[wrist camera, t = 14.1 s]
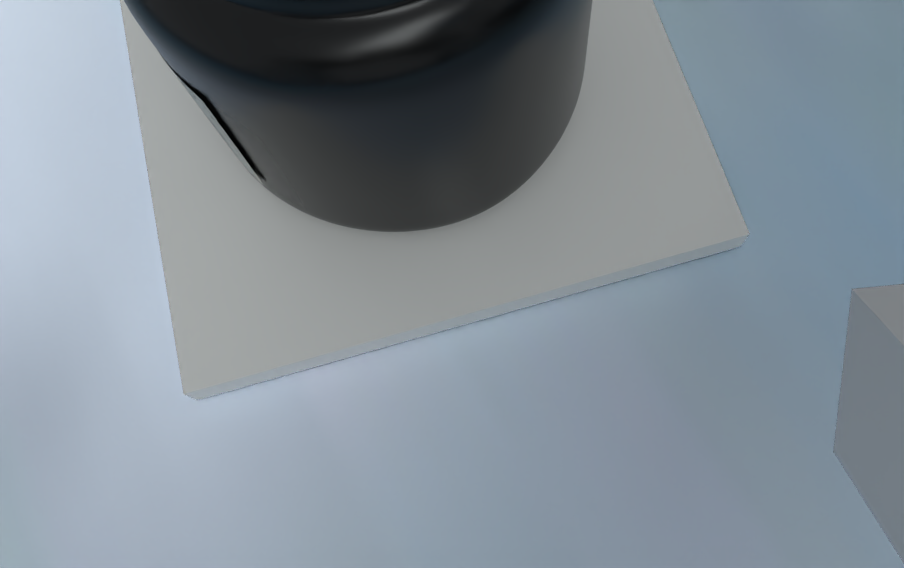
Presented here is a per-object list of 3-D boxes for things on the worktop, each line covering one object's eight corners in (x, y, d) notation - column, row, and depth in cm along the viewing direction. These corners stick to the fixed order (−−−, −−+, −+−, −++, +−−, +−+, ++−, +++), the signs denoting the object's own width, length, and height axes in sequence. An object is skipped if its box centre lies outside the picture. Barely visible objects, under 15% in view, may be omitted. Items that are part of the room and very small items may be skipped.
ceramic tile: (569, -171, 23) (571, -196, 22) (740, 246, 19) (750, 233, 18) (123, -44, 23) (109, -64, 22) (197, 400, 19) (183, 393, 18)
